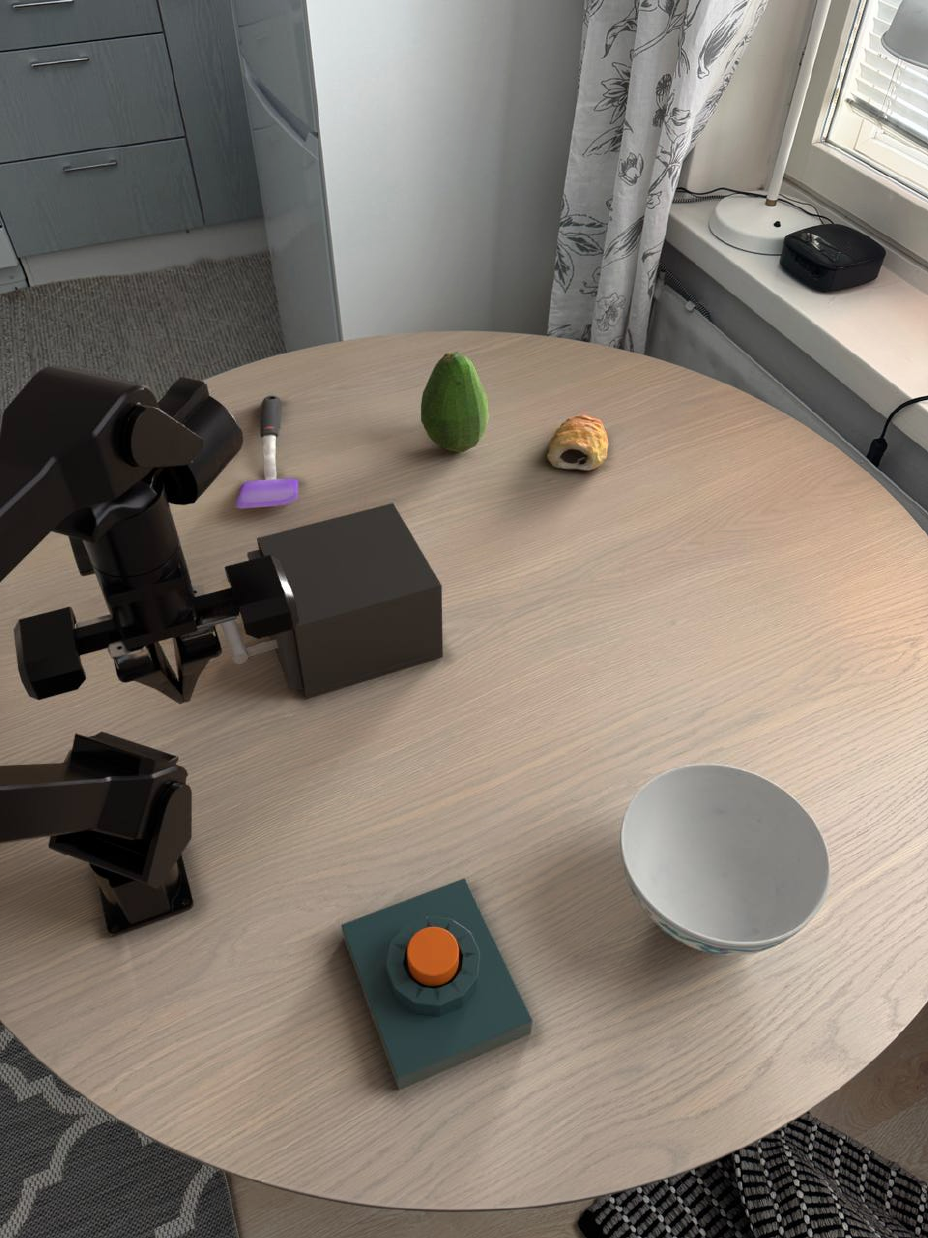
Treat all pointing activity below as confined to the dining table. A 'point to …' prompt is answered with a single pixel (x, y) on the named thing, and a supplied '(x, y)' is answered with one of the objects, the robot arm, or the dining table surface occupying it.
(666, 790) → the chinaware
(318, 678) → the box
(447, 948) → the button
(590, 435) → the pastry
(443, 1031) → the block
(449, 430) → the avocado
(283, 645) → the drawer
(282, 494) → the spatula
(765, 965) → the dining table surface
